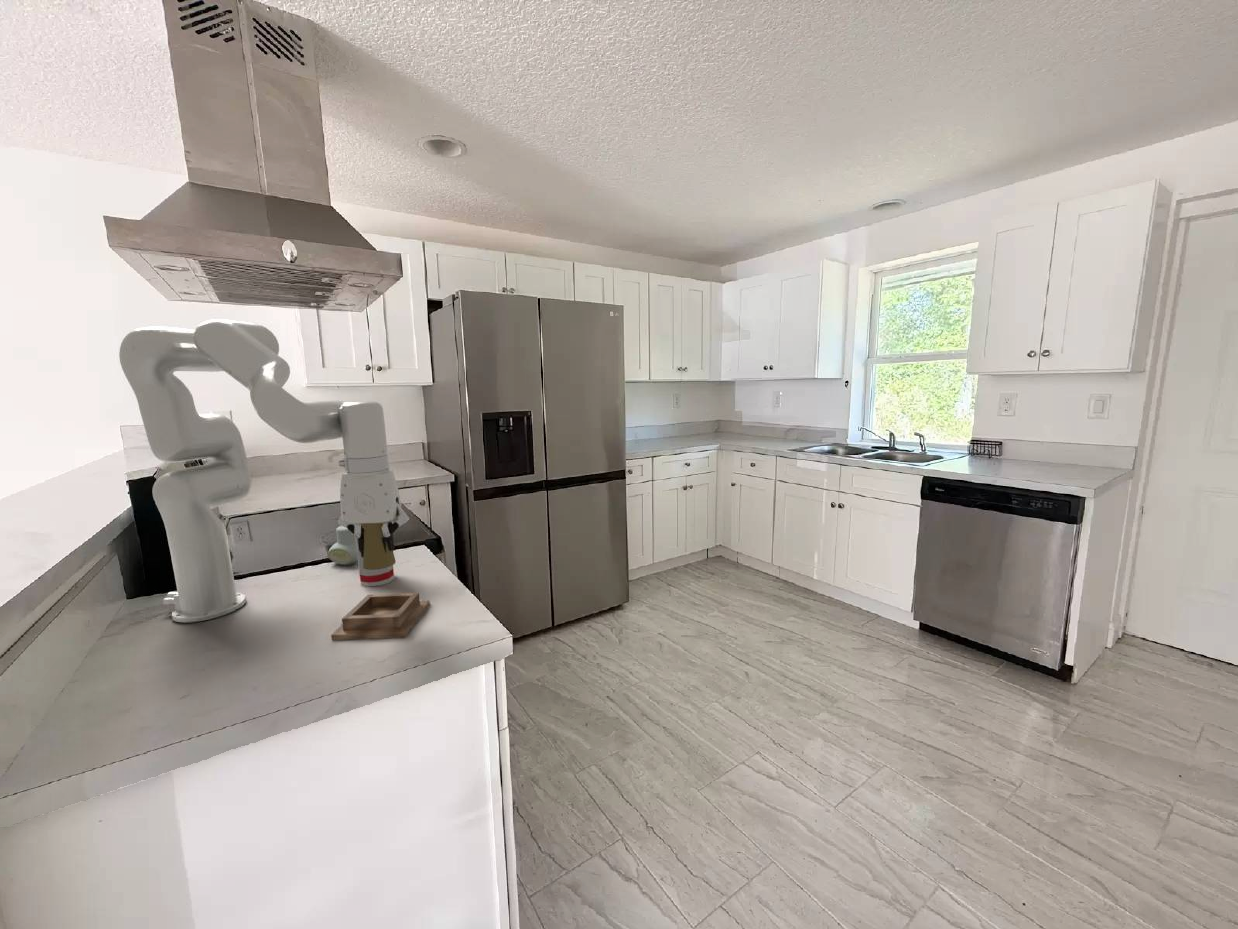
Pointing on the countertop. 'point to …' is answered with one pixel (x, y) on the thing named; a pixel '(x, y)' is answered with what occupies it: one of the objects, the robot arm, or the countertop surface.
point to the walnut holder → (382, 617)
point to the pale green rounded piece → (344, 548)
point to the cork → (375, 548)
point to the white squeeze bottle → (373, 572)
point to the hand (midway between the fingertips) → (377, 553)
